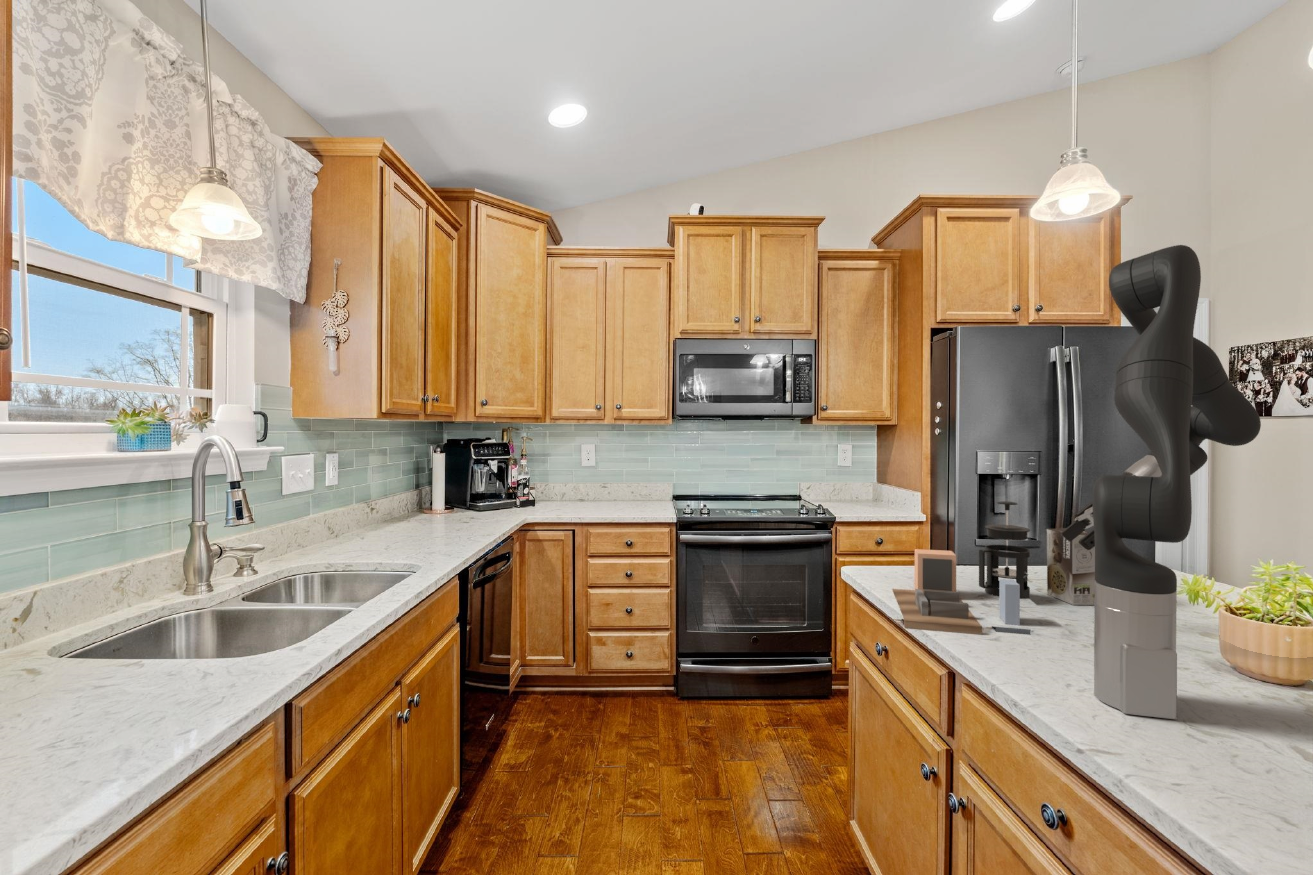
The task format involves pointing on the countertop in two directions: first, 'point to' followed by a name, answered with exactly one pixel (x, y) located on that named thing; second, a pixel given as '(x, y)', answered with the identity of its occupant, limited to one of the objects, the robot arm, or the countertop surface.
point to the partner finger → (935, 570)
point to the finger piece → (1010, 607)
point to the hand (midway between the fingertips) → (1073, 542)
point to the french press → (993, 556)
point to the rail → (936, 611)
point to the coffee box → (1070, 569)
